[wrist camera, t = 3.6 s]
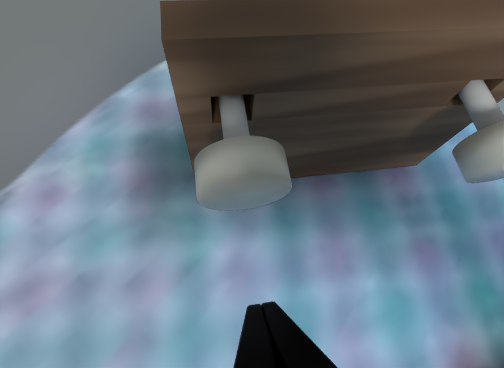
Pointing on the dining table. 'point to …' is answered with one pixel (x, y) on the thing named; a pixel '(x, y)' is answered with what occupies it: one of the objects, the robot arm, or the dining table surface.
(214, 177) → the knob
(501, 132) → the knob
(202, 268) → the dining table surface
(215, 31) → the knob mount
